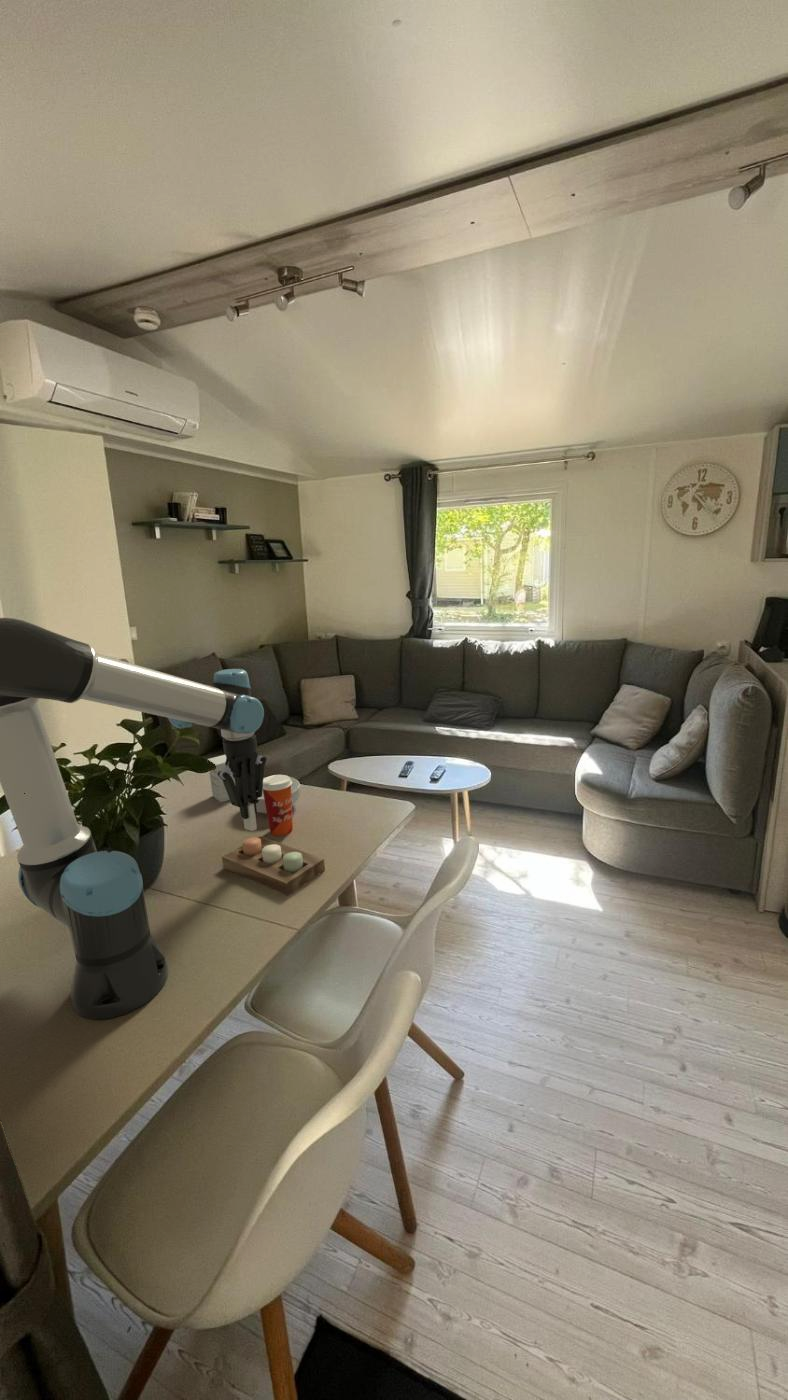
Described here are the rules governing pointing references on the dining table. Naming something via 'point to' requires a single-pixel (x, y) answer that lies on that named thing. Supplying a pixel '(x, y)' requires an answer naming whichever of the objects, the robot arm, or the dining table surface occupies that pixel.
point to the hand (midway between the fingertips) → (250, 828)
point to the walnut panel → (273, 868)
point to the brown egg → (252, 846)
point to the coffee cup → (278, 804)
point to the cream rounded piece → (271, 854)
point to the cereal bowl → (294, 791)
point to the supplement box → (219, 779)
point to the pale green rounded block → (292, 862)
